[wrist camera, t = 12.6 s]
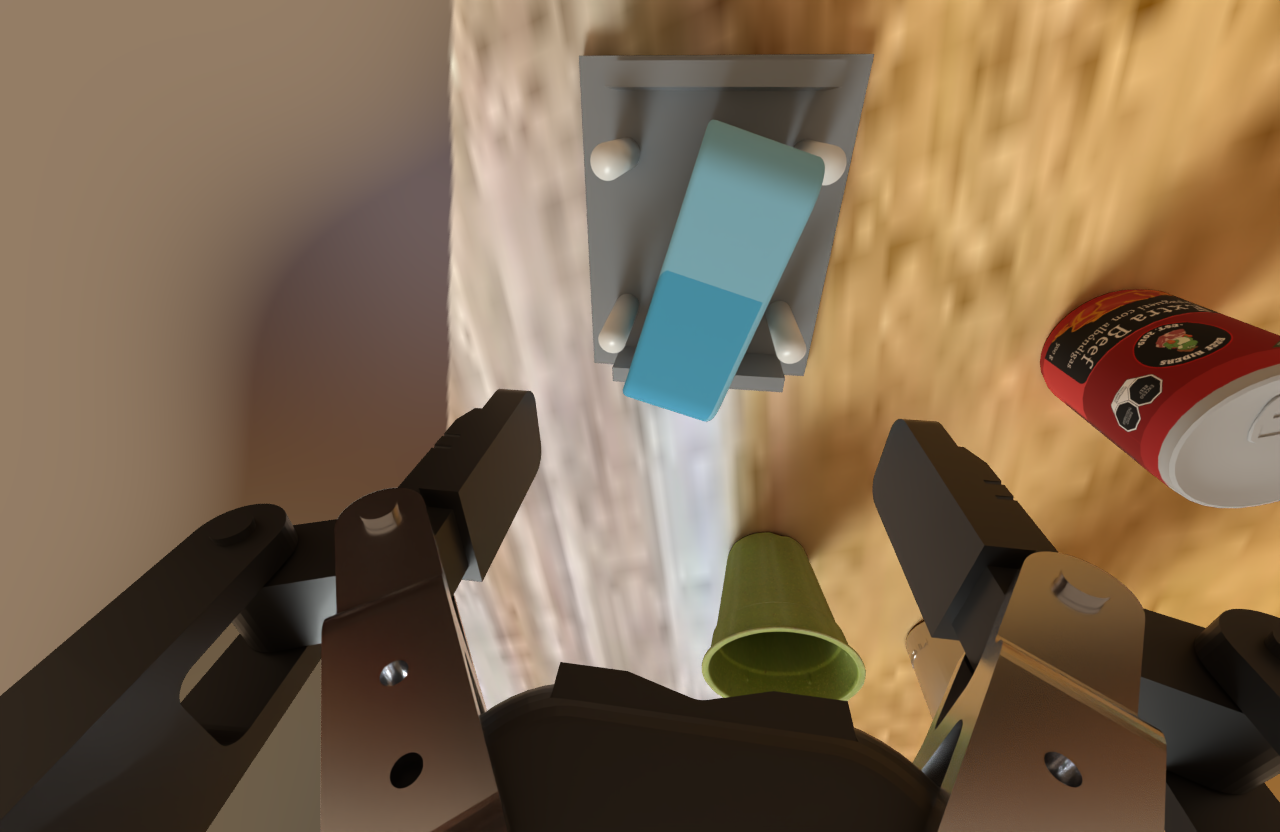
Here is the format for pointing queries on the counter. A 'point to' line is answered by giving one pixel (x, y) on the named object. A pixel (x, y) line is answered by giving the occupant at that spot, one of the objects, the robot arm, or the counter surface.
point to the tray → (662, 167)
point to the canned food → (1175, 392)
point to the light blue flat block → (721, 267)
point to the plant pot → (778, 627)
